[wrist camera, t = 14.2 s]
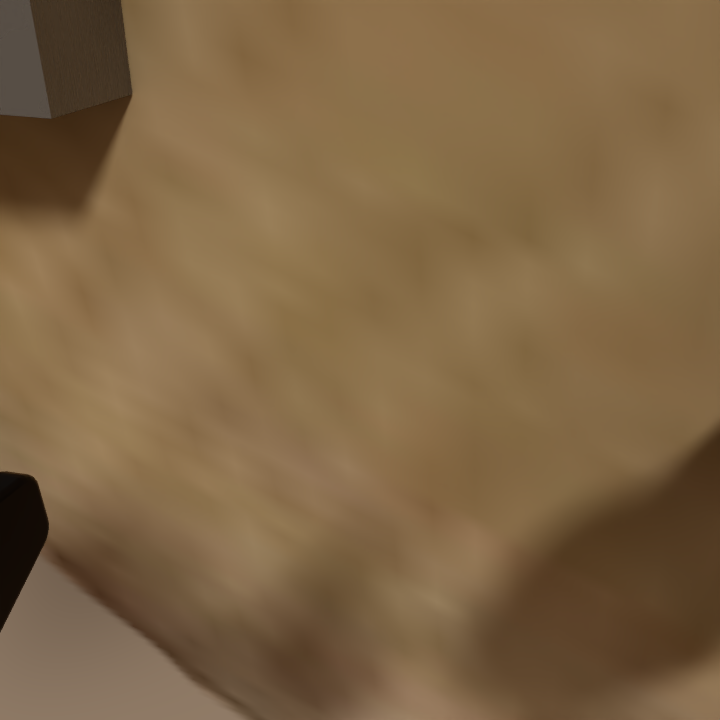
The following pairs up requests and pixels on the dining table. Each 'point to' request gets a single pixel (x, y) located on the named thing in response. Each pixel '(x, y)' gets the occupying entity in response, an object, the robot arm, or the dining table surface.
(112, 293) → the dining table surface
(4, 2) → the gray rectangular frame
